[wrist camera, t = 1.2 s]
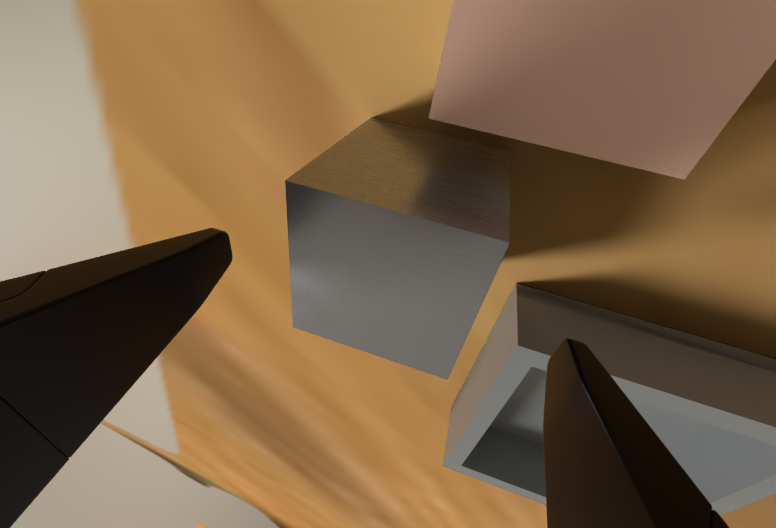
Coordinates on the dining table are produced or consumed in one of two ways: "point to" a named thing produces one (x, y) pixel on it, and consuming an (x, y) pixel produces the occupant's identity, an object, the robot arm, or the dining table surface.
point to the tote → (639, 383)
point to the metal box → (397, 241)
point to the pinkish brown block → (605, 74)
